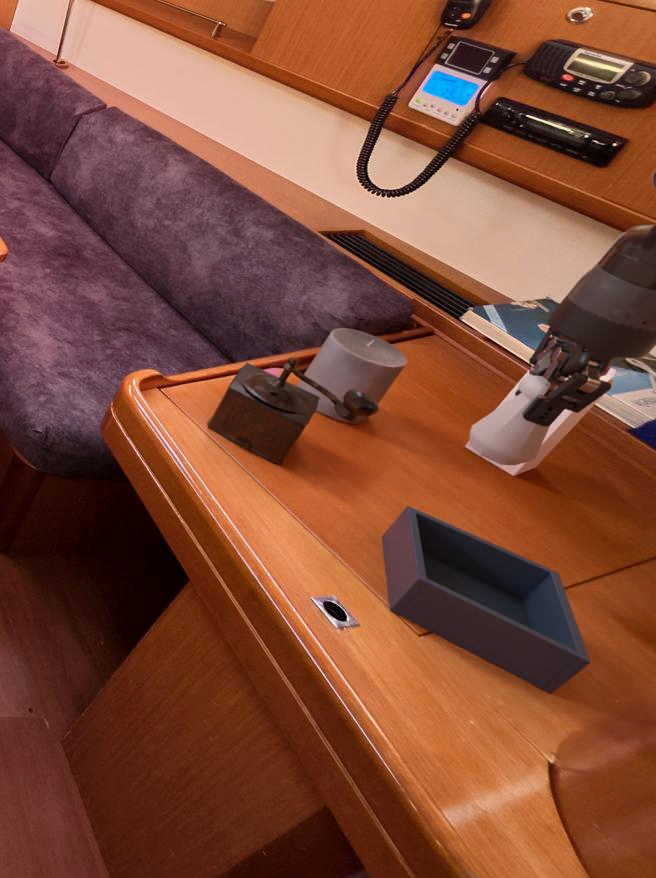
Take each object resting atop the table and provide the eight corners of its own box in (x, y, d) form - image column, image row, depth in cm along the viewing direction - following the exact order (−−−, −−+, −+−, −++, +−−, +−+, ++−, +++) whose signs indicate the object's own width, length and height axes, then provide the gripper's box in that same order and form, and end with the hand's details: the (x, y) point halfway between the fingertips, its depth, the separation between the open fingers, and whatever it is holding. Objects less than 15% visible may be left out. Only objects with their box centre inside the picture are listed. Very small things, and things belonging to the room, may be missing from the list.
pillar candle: (333, 384, 117) (374, 322, 110) (382, 426, 108) (430, 362, 101) (280, 382, 117) (318, 320, 110) (325, 424, 108) (369, 359, 101)
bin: (524, 604, 82) (559, 572, 79) (551, 694, 73) (591, 663, 70) (381, 536, 90) (407, 505, 87) (389, 610, 81) (418, 578, 78)
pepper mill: (203, 428, 107) (247, 348, 99) (223, 398, 113) (266, 321, 105) (321, 493, 96) (381, 410, 88) (336, 456, 102) (394, 376, 94)
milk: (513, 477, 99) (607, 376, 89) (462, 446, 105) (546, 348, 94) (535, 467, 101) (630, 367, 91) (484, 438, 106) (569, 340, 96)
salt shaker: (521, 479, 82) (587, 408, 76) (458, 449, 86) (515, 380, 80) (526, 457, 85) (590, 388, 79) (465, 429, 89) (521, 361, 83)
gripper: (695, 354, 67) (589, 461, 75) (651, 295, 76) (561, 396, 84) (585, 322, 72) (496, 426, 79) (556, 270, 81) (479, 368, 89)
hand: (530, 410), depth 82 cm, fingers closed on salt shaker, 4 cm apart
